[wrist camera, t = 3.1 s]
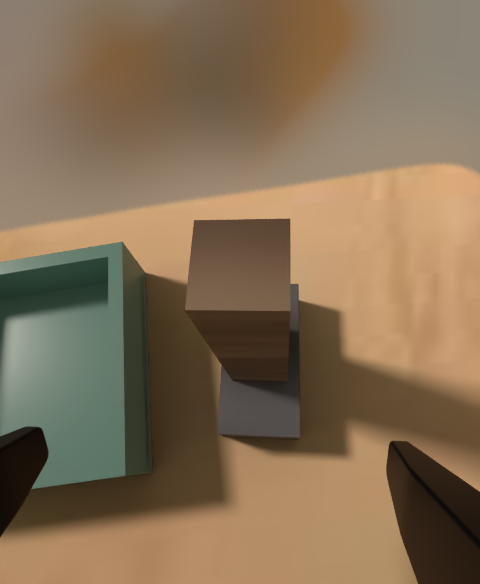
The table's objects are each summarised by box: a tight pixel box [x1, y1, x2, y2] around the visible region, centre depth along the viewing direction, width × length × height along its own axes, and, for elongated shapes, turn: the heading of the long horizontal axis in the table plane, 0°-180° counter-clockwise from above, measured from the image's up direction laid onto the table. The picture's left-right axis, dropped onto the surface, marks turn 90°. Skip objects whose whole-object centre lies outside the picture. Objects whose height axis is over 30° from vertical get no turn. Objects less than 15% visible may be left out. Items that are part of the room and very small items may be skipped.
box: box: [0, 242, 153, 490], centre depth 22 cm, size 12×12×4 cm
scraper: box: [185, 219, 300, 440], centre depth 17 cm, size 8×4×13 cm, turn 177°
